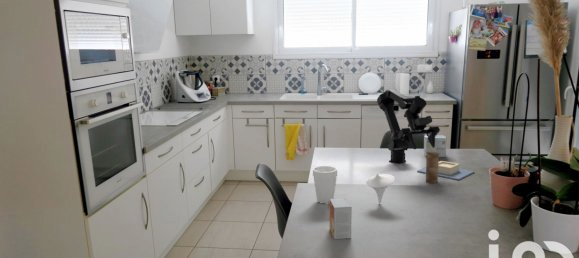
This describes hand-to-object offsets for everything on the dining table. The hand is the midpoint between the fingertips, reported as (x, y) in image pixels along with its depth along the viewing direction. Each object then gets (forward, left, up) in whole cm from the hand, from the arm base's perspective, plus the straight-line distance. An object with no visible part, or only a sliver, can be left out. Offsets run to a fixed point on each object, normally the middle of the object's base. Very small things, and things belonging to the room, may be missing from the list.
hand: (424, 148), depth 192 cm
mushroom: (+5, -43, -13) cm, 45 cm away
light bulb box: (-15, +38, -13) cm, 43 cm away
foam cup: (-12, -55, -13) cm, 58 cm away
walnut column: (+6, -5, -13) cm, 15 cm away
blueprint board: (+4, +12, -13) cm, 18 cm away
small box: (+11, -74, -13) cm, 76 cm away
